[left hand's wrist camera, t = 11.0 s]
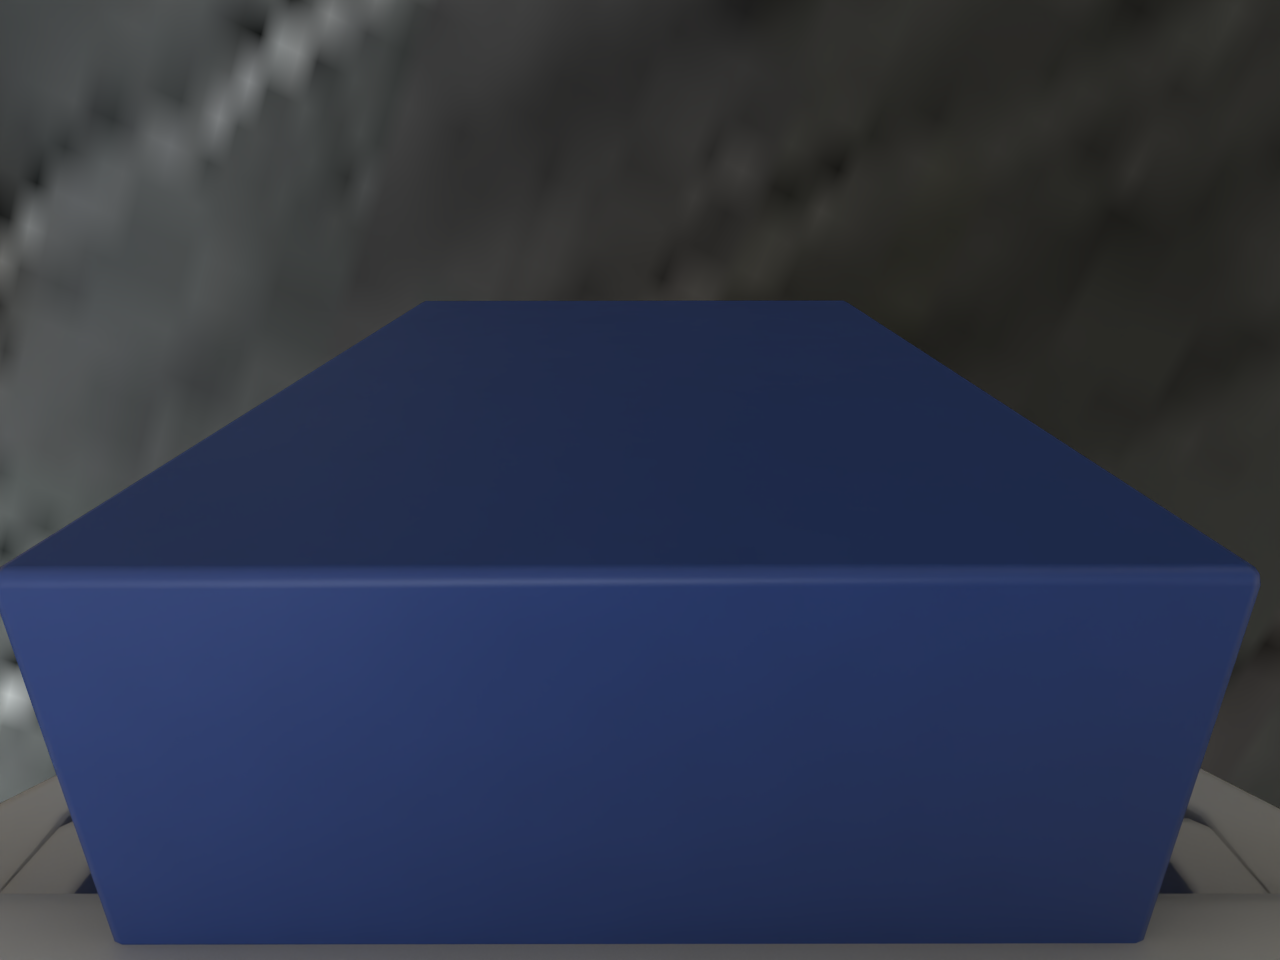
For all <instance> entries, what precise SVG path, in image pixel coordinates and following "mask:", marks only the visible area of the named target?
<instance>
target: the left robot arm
mask: <svg viewBox="0 0 1280 960" xmlns="http://www.w3.org/2000/svg"><path fill="white" fill-rule="evenodd" d="M0 960H1280V809H1279V808H1277V807H1275V806H1273V805H1271V804H1269V803H1267V802H1265V801H1263V800H1261V799H1259V798H1257V797H1255V796H1253V795H1251V794H1249V793H1247V792H1245V791H1243V790H1241V789H1239V788H1238V787H1236V786H1234V785H1232V784H1230V783H1228V782H1226V781H1224V780H1222V779H1220V778H1218V777H1216V776H1214V775H1212V774H1210V773H1208V772H1206V771H1204V770H1202V769H1200V770H1199V773H1198V776H1197V779H1196V782H1195V785H1194V788H1193V791H1192V794H1191V797H1190V800H1189V803H1188V806H1187V809H1186V812H1185V816H1184V819H1183V822H1182V825H1181V828H1180V831H1179V834H1178V837H1177V840H1176V843H1175V846H1174V849H1173V852H1172V855H1171V858H1170V861H1169V864H1168V867H1167V870H1166V873H1165V876H1164V879H1163V882H1162V885H1161V888H1160V891H1159V894H1158V897H1157V900H1156V903H1155V906H1154V909H1153V912H1152V915H1151V918H1150V922H1149V925H1148V928H1147V931H1146V934H1145V937H1144V940H1142V941H1140V942H1137V943H1002V944H242V945H122V944H120V943H117V942H115V941H114V938H113V936H112V933H111V930H110V927H109V924H108V921H107V918H106V915H105V913H104V910H103V907H102V904H101V901H100V898H99V895H98V892H97V890H96V887H95V884H94V881H93V878H92V875H91V872H90V869H89V867H88V864H87V861H86V858H85V855H84V852H83V849H82V846H81V844H80V841H79V838H78V835H77V832H76V829H75V826H74V823H73V821H72V818H71V815H70V812H69V809H68V806H67V803H66V800H65V798H64V795H63V792H62V789H61V786H60V783H59V780H58V777H57V775H56V776H54V777H52V778H50V779H48V780H46V781H44V782H42V783H40V784H38V785H36V786H34V787H32V788H30V789H28V790H26V791H24V792H22V793H20V794H18V795H16V796H14V797H12V798H10V799H8V800H6V801H4V802H2V803H0Z"/></svg>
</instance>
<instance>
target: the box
mask: <svg viewBox="0 0 1280 960" xmlns="http://www.w3.org/2000/svg"><path fill="white" fill-rule="evenodd" d="M1260 585H1261V583H1260V574H1259V573H1258V571H1257V569H1256V568H1255V567H1254V566H1253V565H1251V564H1249V563H1248V562H1246V561H1245V560H1243V559H1242V558H1240V557H1239V556H1237V555H1236V554H1234V553H1232V552H1231V551H1229V550H1228V549H1226V548H1225V547H1223V546H1222V545H1220V544H1219V543H1217V542H1216V541H1214V540H1212V539H1211V538H1209V537H1208V536H1206V535H1205V534H1203V533H1202V532H1200V531H1199V530H1197V529H1196V528H1194V527H1192V526H1191V525H1189V524H1188V523H1186V522H1185V521H1183V520H1182V519H1180V518H1179V517H1177V516H1175V515H1174V514H1172V513H1171V512H1169V511H1168V510H1166V509H1165V508H1163V507H1162V506H1160V505H1159V504H1157V503H1155V502H1154V501H1152V500H1151V499H1149V498H1148V497H1146V496H1145V495H1143V494H1142V493H1140V492H1139V491H1137V490H1135V489H1134V488H1132V487H1131V486H1129V485H1128V484H1126V483H1125V482H1123V481H1122V480H1120V479H1118V478H1117V477H1115V476H1114V475H1112V474H1111V473H1109V472H1108V471H1106V470H1105V469H1103V468H1102V467H1100V466H1098V465H1097V464H1095V463H1094V462H1092V461H1091V460H1089V459H1088V458H1086V457H1085V456H1083V455H1082V454H1080V453H1078V452H1077V451H1075V450H1074V449H1072V448H1071V447H1069V446H1068V445H1066V444H1065V443H1063V442H1061V441H1060V440H1058V439H1057V438H1055V437H1054V436H1052V435H1051V434H1049V433H1048V432H1046V431H1045V430H1043V429H1041V428H1040V427H1038V426H1037V425H1035V424H1034V423H1032V422H1031V421H1029V420H1028V419H1026V418H1025V417H1023V416H1021V415H1020V414H1018V413H1017V412H1015V411H1014V410H1012V409H1011V408H1009V407H1008V406H1006V405H1004V404H1003V403H1001V402H1000V401H998V400H997V399H995V398H994V397H992V396H991V395H989V394H988V393H986V392H984V391H983V390H981V389H980V388H978V387H977V386H975V385H974V384H972V383H971V382H969V381H968V380H966V379H964V378H963V377H961V376H960V375H958V374H957V373H955V372H954V371H952V370H951V369H949V368H947V367H946V366H944V365H943V364H941V363H940V362H938V361H937V360H935V359H934V358H932V357H931V356H929V355H927V354H926V353H924V352H923V351H921V350H920V349H918V348H917V347H915V346H914V345H912V344H911V343H909V342H907V341H906V340H904V339H903V338H901V337H900V336H898V335H897V334H895V333H894V332H892V331H890V330H889V329H887V328H886V327H884V326H883V325H881V324H880V323H878V322H877V321H875V320H874V319H872V318H870V317H869V316H867V315H866V314H864V313H863V312H861V311H860V310H858V309H857V308H855V307H854V306H852V305H850V304H849V303H847V302H845V301H425V302H423V303H421V304H419V305H418V306H416V307H415V308H413V309H411V310H410V311H408V312H407V313H405V314H403V315H402V316H400V317H399V318H397V319H395V320H394V321H392V322H391V323H389V324H387V325H386V326H384V327H383V328H381V329H379V330H378V331H376V332H375V333H373V334H371V335H370V336H368V337H367V338H365V339H364V340H362V341H360V342H359V343H357V344H356V345H354V346H352V347H351V348H349V349H348V350H346V351H344V352H343V353H341V354H340V355H338V356H336V357H335V358H333V359H332V360H330V361H328V362H327V363H325V364H324V365H322V366H320V367H319V368H317V369H316V370H314V371H312V372H311V373H309V374H308V375H306V376H304V377H303V378H301V379H300V380H298V381H297V382H295V383H293V384H292V385H290V386H289V387H287V388H285V389H284V390H282V391H281V392H279V393H277V394H276V395H274V396H273V397H271V398H269V399H268V400H266V401H265V402H263V403H261V404H260V405H258V406H257V407H255V408H253V409H252V410H250V411H249V412H247V413H245V414H244V415H242V416H241V417H239V418H237V419H236V420H234V421H233V422H231V423H230V424H228V425H226V426H225V427H223V428H222V429H220V430H218V431H217V432H215V433H214V434H212V435H210V436H209V437H207V438H206V439H204V440H202V441H201V442H199V443H198V444H196V445H194V446H193V447H191V448H190V449H188V450H186V451H185V452H183V453H182V454H180V455H178V456H177V457H175V458H174V459H172V460H171V461H169V462H167V463H166V464H164V465H163V466H161V467H159V468H158V469H156V470H155V471H153V472H151V473H150V474H148V475H147V476H145V477H143V478H142V479H140V480H139V481H137V482H135V483H134V484H132V485H131V486H129V487H127V488H126V489H124V490H123V491H121V492H119V493H118V494H116V495H115V496H113V497H111V498H110V499H108V500H107V501H105V502H104V503H102V504H100V505H99V506H97V507H96V508H94V509H92V510H91V511H89V512H88V513H86V514H84V515H83V516H81V517H80V518H78V519H76V520H75V521H73V522H72V523H70V524H68V525H67V526H65V527H64V528H62V529H60V530H59V531H57V532H56V533H54V534H52V535H51V536H49V537H48V538H46V539H44V540H43V541H41V542H40V543H38V544H37V545H35V546H33V547H32V548H30V549H29V550H27V551H25V552H24V553H22V554H21V555H19V556H17V557H16V558H14V559H13V560H11V561H9V562H8V563H6V564H5V565H3V566H1V567H0V614H1V616H2V619H3V622H4V625H5V628H6V631H7V634H8V637H9V639H10V642H11V645H12V648H13V651H14V654H15V657H16V660H17V662H18V665H19V668H20V671H21V674H22V677H23V680H24V683H25V685H26V688H27V691H28V694H29V697H30V700H31V703H32V706H33V708H34V711H35V714H36V717H37V720H38V723H39V726H40V729H41V731H42V734H43V737H44V740H45V743H46V746H47V749H48V752H49V754H50V757H51V760H52V763H53V766H54V769H55V772H56V775H57V777H58V780H59V783H60V786H61V789H62V792H63V795H64V798H65V800H66V803H67V806H68V809H69V812H70V815H71V818H72V821H73V823H74V826H75V829H76V832H77V835H78V838H79V841H80V844H81V846H82V849H83V852H84V855H85V858H86V861H87V864H88V867H89V869H90V872H91V875H92V878H93V881H94V884H95V887H96V890H97V892H98V895H99V898H100V901H101V904H102V907H103V910H104V913H105V915H106V918H107V921H108V924H109V927H110V930H111V933H112V936H113V938H114V941H115V942H117V943H120V944H122V945H242V944H1002V943H1137V942H1140V941H1142V940H1144V937H1145V934H1146V931H1147V928H1148V925H1149V922H1150V918H1151V915H1152V912H1153V909H1154V906H1155V903H1156V900H1157V897H1158V894H1159V891H1160V888H1161V885H1162V882H1163V879H1164V876H1165V873H1166V870H1167V867H1168V864H1169V861H1170V858H1171V855H1172V852H1173V849H1174V846H1175V843H1176V840H1177V837H1178V834H1179V831H1180V828H1181V825H1182V822H1183V819H1184V816H1185V812H1186V809H1187V806H1188V803H1189V800H1190V797H1191V794H1192V791H1193V788H1194V785H1195V782H1196V779H1197V776H1198V773H1199V770H1200V767H1201V764H1202V761H1203V758H1204V755H1205V752H1206V749H1207V746H1208V743H1209V740H1210V737H1211V734H1212V731H1213V728H1214V725H1215V722H1216V719H1217V716H1218V713H1219V710H1220V706H1221V703H1222V700H1223V697H1224V694H1225V691H1226V688H1227V685H1228V682H1229V679H1230V676H1231V673H1232V670H1233V667H1234V664H1235V661H1236V658H1237V655H1238V652H1239V649H1240V646H1241V643H1242V640H1243V637H1244V634H1245V631H1246V628H1247V625H1248V622H1249V619H1250V616H1251V613H1252V610H1253V607H1254V604H1255V600H1256V597H1257V594H1258V591H1259V588H1260Z"/></svg>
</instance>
